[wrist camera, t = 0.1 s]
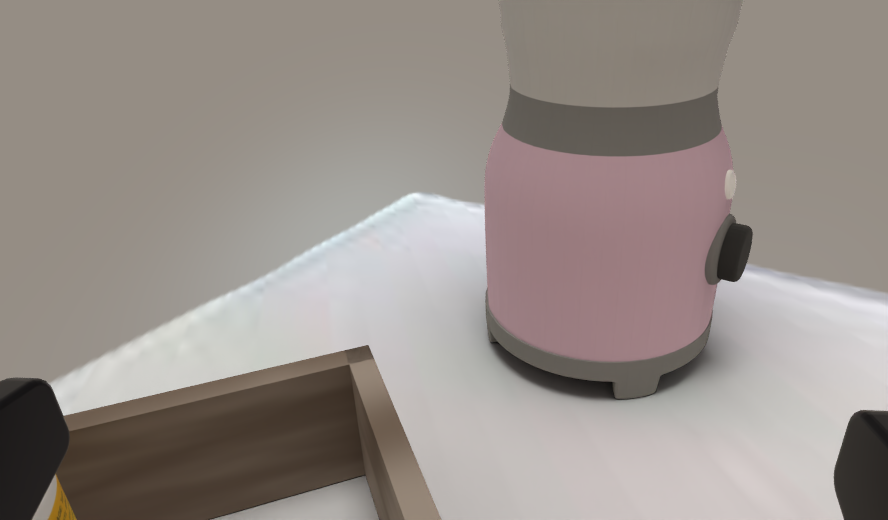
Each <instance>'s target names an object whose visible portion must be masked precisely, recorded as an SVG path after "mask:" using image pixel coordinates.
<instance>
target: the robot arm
mask: <svg viewBox="0 0 888 520" xmlns="http://www.w3.org/2000/svg"><path fill="white" fill-rule="evenodd" d="M69 442H70V433H69V429H68V426H67V423H66V421H65V419H64V416H63V414H62V411H61V409H60V406H59V404H58V401H57V399H56V396H55V394H54V392H53V389H52V387H51V386H50V385H49V384H48V383H47V382H46V381H44V380H42V379H38V378H9V379H5V380H2V381H0V520H32V519H33V517H34V515H35V513H36V511H37V509H38V507H39V505H40V503H41V501H42V499H43V497H44V495H45V494H46V492H47V490H48V488H49V486H50V484H51V482H52V480H53V478H54V476H55V474H56V472H57V470H58V468H59V466H60V464H61V462H62V460H63V459H64V457H65V455H66V452H67V450H68V447H69ZM834 486H835V491H836V495H837V498H838V502H839V505H840V508H841V511H842V514H843V518H844V520H888V411H873V410H861V411H858V412H856V413H854V414H853V416H852V417H851V418H850V421H849V423H848V426H847V429H846V433H845V436H844V439H843V442H842V446H841V449H840V452H839V455H838V459H837V462H836V465H835V470H834Z"/></svg>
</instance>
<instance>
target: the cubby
mask: <svg viewBox="0 0 888 520" xmlns="http://www.w3.org/2000/svg"><path fill="white" fill-rule="evenodd" d="M64 419H65V421H66V423H67V426H68V429H69V433H70V442H69V447H68V450H67V452H66V455H65V457H64V459H63V460H62V462H61V464H60V466H59V468H58V470H57V472H56V475H57V478H58V480H59V482H60V484H61V487H62V489H63V491H64V493H65V495H66V498H67V500H68V502H69V504H70V506H71V508H72V510H73V513H74V515H75V517H76V519H77V520H208V519H212V518H215V517H219V516H222V515H226V514H229V513H233V512H236V511H240V510H243V509H247V508H250V507H254V506H257V505H261V504H264V503H268V502H271V501H275V500H278V499H282V498H285V497H289V496H292V495H296V494H299V493H303V492H306V491H310V490H313V489H317V488H320V487H324V486H327V485H331V484H334V483H338V482H341V481H345V480H348V479H352V478H355V477H359V476H362V475H366V478H367V481H368V485H369V488H370V491H371V494H372V497H373V501H374V504H375V507H376V510H377V513H378V517H379V520H441V518H440V516H439V513H438V511H437V508H436V506H435V504H434V501H433V499H432V496H431V494H430V492H429V489H428V487H427V485H426V482H425V480H424V477H423V475H422V473H421V470H420V468H419V465H418V463H417V461H416V458H415V456H414V453H413V451H412V449H411V446H410V444H409V441H408V439H407V437H406V434H405V432H404V429H403V427H402V425H401V422H400V420H399V417H398V415H397V413H396V410H395V408H394V406H393V403H392V401H391V398H390V396H389V394H388V391H387V389H386V386H385V384H384V382H383V379H382V377H381V374H380V372H379V370H378V367H377V365H376V362H375V360H374V358H373V355H372V353H371V350H370V348H369V346H368V345H366V346H362V347H358V348H353V349H349V350H345V351H340V352H336V353H332V354H328V355H323V356H319V357H315V358H310V359H306V360H302V361H298V362H293V363H289V364H285V365H280V366H276V367H272V368H267V369H263V370H259V371H255V372H250V373H246V374H242V375H237V376H233V377H229V378H225V379H220V380H216V381H212V382H207V383H203V384H199V385H195V386H190V387H186V388H182V389H177V390H173V391H169V392H165V393H160V394H156V395H152V396H147V397H143V398H139V399H134V400H130V401H126V402H122V403H117V404H113V405H109V406H104V407H100V408H96V409H92V410H87V411H83V412H79V413H74V414H70V415H66V416H64Z"/></svg>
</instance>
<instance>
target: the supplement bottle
mask: <svg viewBox="0 0 888 520" xmlns="http://www.w3.org/2000/svg"><path fill="white" fill-rule="evenodd" d="M32 520H77V519H76V517H75V515H74V513H73V510H72V508H71V506H70V504H69V502H68V500H67V498H66V495H65V493H64V491H63V489H62V487H61V484H60V482H59V480H58V478H57V475H56V474H55V476H54V478H53V480H52V482H51V484H50V486H49V488H48V490H47V492H46V494H45V495H44V497H43V499H42V501H41V503H40V505H39V507H38V509H37V511H36V513H35V515H34V517H33V519H32Z"/></svg>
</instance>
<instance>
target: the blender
mask: <svg viewBox="0 0 888 520" xmlns="http://www.w3.org/2000/svg"><path fill="white" fill-rule="evenodd" d="M742 3H743V0H499V6H500V14H501V27H502V32H503V36H504V40H505V44H506V49H507V58H508V67H509V77H510V95H509V101H508V105H507V109H506V112H505V116H504V118H503V121H502V123H501V125H500V127H499V129H498V132H497V134H496V135H495V138H494V140H493V143H492V145H491V148H490V151H489V156H488V160H487V164H486V171H485V234H486V262H487V286H488V287H487V291H486V320H487V327H488V335H489V339H490V342H499V343H500V345H502V346H503V347H504V348H505V349H506V350H507V351H509V352H510V353H511V354H513V355H514V356H516V357H517V358H519V359H521V360H522V361H524V362H526V363H528V364H530V365H532V366H535V367H537V368H540V369H542V370H545V371H548V372H551V373H554V374H558V375H562V376H566V377H571V378H576V379H583V380H591V381H610V382H613V392H614V396H615V398H617V399H629V398H637V397H642V396H647V395H650V394H653V393H654V392H656V389H657V385H658V382H659V379H660V376H661V375H663V374H666V373H668V372H671V371H673V370H675V369H678V368H680V367H682V366H683V365H685V364H687V363H688V362H690V361H691V360H692V359H694V358H695V357H696V356H697V355H698V354H699V353H700V352H701V351H702V349H703V348H704V347H705V345H706V343H707V340H708V337H709V332H710V326H711V320H712V312H713V310H712V309H713V304H714V299H715V293H716V288H717V283H719V282H720V280H721V279H723V280H727V281H731V282H736V281H738V280H739V279H740V277H741V276H742V274H743V271H744V269H745V266H746V263H747V260H748V257H749V253H750V249H751V244H752V229H751V228H750V227H749V226H746V225H741V224H736V220H735V217H734V216H732V215H731V214H730V209H731V202H732V198H733V196H734V194H735V189H736V175H735V172H734V171H733V164H732V156H731V151H730V148H729V144H728V141H727V138H726V135H725V133H724V130H723V127H722V125H721V120H720V115H719V108H718V100H717V93H718V86H719V81H720V77H721V73H722V69H723V65H724V61H725V58H726V53H727V50H728V47H729V44H730V42H731V39H732V37H733V34H734V32H735V30H736V27H737V24H738V20H739V15H740V10H741V6H742Z"/></svg>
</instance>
